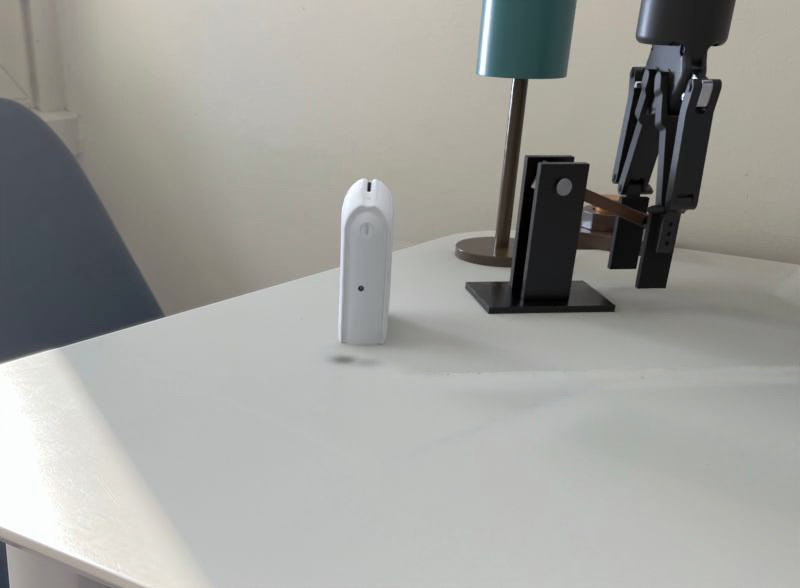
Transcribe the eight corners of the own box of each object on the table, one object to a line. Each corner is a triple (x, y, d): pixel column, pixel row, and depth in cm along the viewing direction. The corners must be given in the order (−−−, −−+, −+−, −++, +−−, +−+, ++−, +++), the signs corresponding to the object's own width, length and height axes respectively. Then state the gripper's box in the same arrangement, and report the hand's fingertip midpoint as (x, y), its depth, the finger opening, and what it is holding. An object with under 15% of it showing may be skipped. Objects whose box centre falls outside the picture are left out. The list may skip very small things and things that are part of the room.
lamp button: (630, 213, 115) (633, 196, 114) (619, 218, 113) (622, 201, 112) (601, 209, 117) (603, 193, 116) (589, 213, 115) (592, 197, 114)
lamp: (545, 254, 113) (581, -8, 99) (545, 275, 105) (585, -7, 91) (457, 249, 114) (480, -10, 100) (451, 269, 106) (475, -9, 92)
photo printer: (387, 354, 82) (396, 193, 75) (335, 352, 82) (340, 191, 75) (387, 318, 91) (396, 170, 84) (340, 316, 91) (345, 169, 84)
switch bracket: (581, 292, 100) (603, 151, 92) (613, 318, 92) (640, 167, 85) (464, 294, 98) (478, 151, 91) (487, 320, 91) (504, 167, 84)
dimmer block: (668, 245, 118) (675, 209, 115) (640, 261, 111) (647, 223, 109) (573, 232, 123) (578, 197, 121) (540, 246, 116) (545, 209, 114)
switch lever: (634, 230, 95) (647, 205, 94) (655, 242, 91) (669, 216, 89) (526, 184, 91) (538, 157, 90) (542, 194, 87) (555, 166, 86)
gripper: (604, -14, 89) (564, 254, 102) (697, -10, 74) (636, 306, 86) (684, -12, 90) (634, 253, 103) (792, -8, 74) (718, 305, 87)
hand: (635, 277), depth 95 cm, fingers open, 6 cm apart
